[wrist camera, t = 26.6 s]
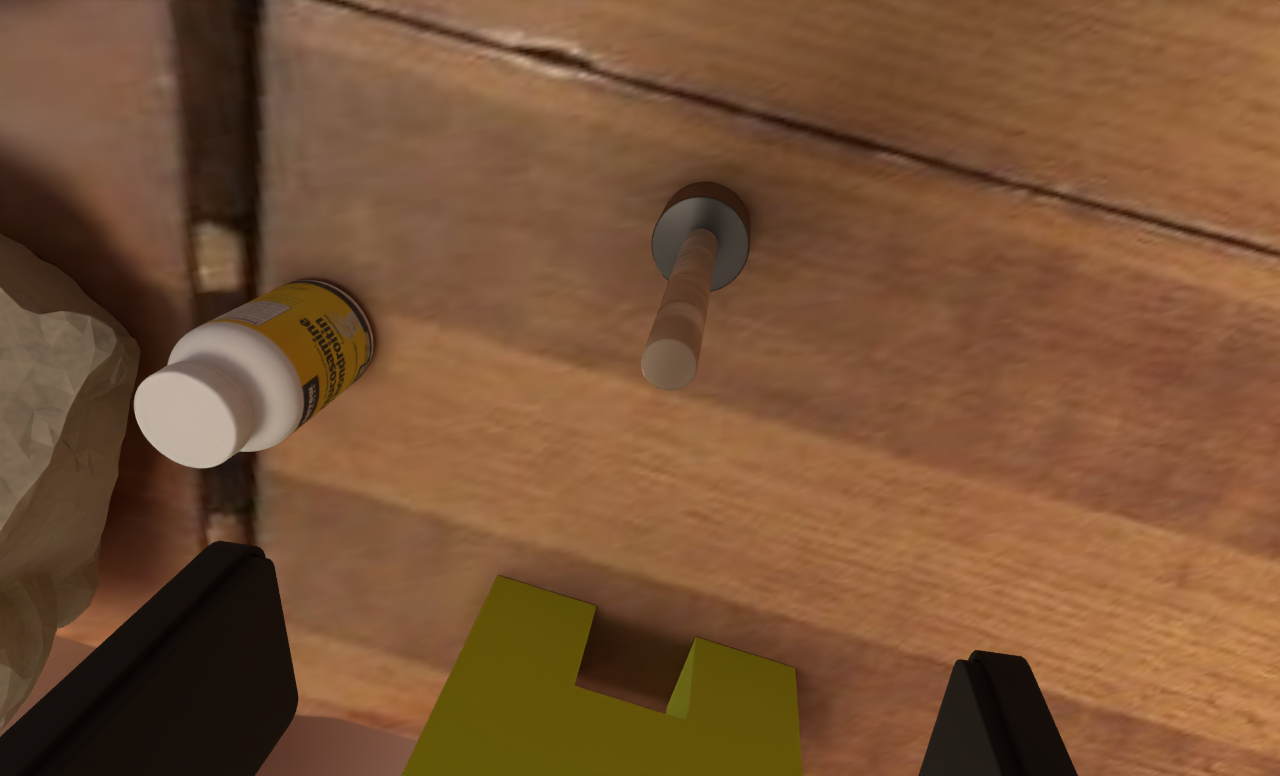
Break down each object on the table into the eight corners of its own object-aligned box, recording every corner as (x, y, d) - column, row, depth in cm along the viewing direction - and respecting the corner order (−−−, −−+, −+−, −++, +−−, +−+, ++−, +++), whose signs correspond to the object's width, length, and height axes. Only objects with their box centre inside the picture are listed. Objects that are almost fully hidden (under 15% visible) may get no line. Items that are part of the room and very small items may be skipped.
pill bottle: (368, 398, 44) (249, 507, 34) (264, 360, 44) (111, 458, 33) (387, 299, 41) (263, 384, 31) (276, 258, 41) (113, 330, 31)
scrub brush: (754, 185, 36) (757, 298, 20) (744, 273, 38) (738, 443, 22) (664, 178, 37) (594, 281, 20) (658, 266, 38) (589, 425, 22)
